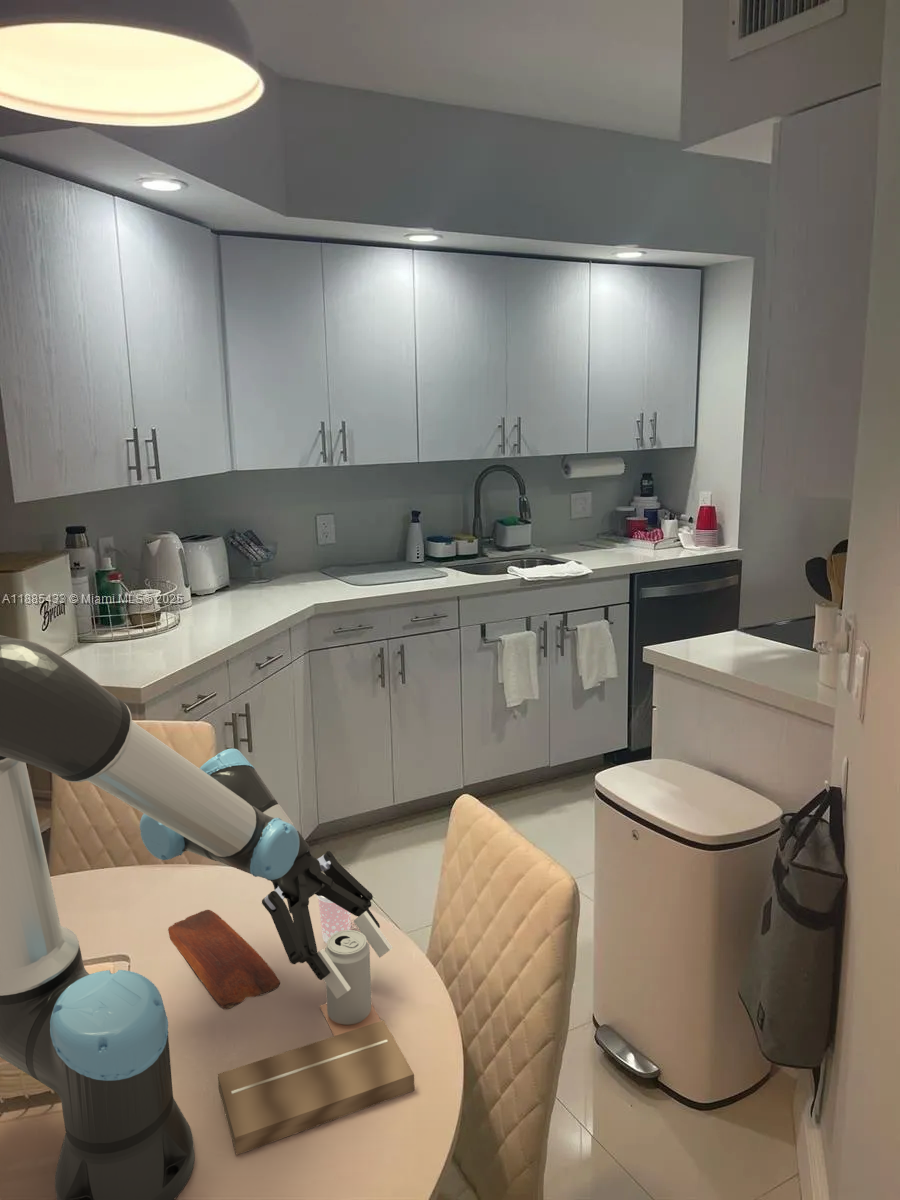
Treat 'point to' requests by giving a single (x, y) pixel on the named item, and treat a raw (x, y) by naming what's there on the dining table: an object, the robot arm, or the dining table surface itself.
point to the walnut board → (312, 1085)
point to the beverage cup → (332, 918)
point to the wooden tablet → (222, 959)
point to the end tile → (340, 1028)
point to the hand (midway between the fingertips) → (365, 972)
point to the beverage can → (350, 977)
